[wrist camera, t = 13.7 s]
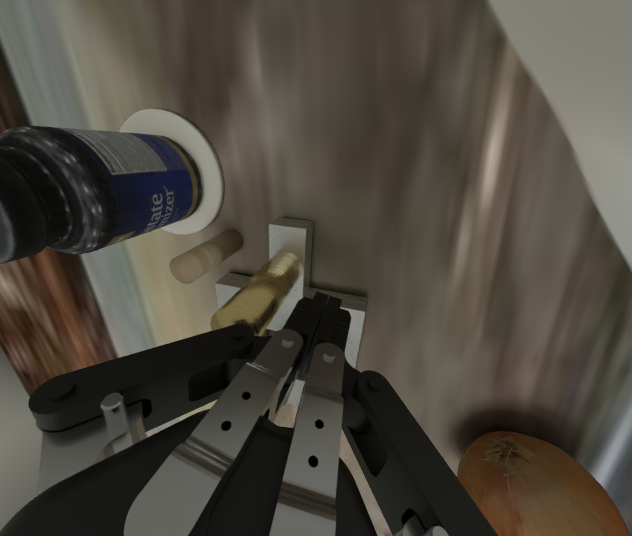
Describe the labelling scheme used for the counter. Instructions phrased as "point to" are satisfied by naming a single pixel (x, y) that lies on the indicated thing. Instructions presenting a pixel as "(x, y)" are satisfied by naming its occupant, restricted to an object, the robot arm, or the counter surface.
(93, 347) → the counter surface
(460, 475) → the onion
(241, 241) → the dowel
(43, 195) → the pill bottle
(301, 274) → the grey plate with post
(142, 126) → the coaster
